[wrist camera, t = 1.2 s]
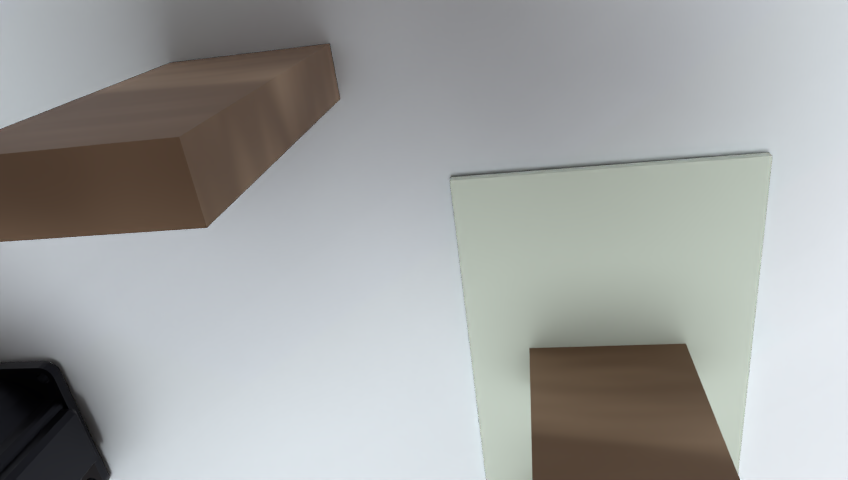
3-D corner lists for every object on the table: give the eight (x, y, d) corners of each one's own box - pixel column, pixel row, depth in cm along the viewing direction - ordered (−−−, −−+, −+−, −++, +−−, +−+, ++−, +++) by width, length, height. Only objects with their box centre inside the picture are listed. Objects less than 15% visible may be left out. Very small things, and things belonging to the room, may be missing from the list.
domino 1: (340, 99, 19) (207, 227, 11) (185, 115, 20) (-44, 244, 12) (329, 43, 18) (179, 137, 10) (170, 62, 19) (-85, 162, 11)
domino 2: (684, 383, 21) (783, 660, 13) (532, 385, 22) (539, 647, 14) (685, 343, 20) (792, 611, 12) (529, 347, 21) (534, 600, 13)
